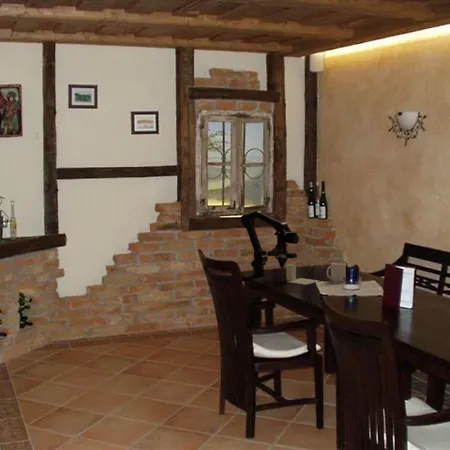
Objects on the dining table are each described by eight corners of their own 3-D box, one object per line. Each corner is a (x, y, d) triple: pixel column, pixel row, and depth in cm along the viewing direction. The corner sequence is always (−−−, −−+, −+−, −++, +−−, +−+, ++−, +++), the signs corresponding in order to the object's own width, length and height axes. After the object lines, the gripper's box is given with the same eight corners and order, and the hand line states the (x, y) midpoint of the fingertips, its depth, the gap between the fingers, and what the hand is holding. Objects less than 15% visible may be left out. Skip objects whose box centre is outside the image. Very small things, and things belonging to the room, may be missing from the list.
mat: (286, 282, 416) (286, 281, 416) (301, 278, 426) (301, 278, 426) (305, 284, 406) (305, 284, 406) (320, 281, 416) (320, 280, 416)
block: (286, 280, 422) (286, 265, 421) (290, 279, 425) (290, 264, 424) (291, 280, 419) (291, 265, 418) (296, 279, 422) (295, 264, 421)
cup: (348, 281, 416) (348, 264, 415) (330, 282, 411) (330, 265, 410) (340, 278, 423) (340, 262, 422) (323, 280, 419) (323, 263, 418)
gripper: (261, 243, 425) (261, 268, 427) (285, 245, 413) (285, 272, 414) (273, 241, 433) (273, 266, 435) (297, 243, 421) (297, 269, 422)
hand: (282, 268), depth 426 cm, fingers closed
